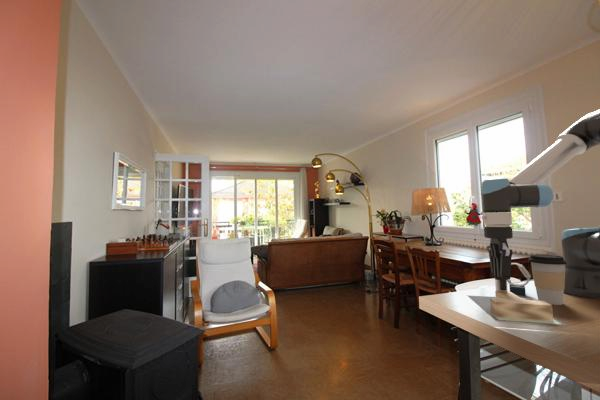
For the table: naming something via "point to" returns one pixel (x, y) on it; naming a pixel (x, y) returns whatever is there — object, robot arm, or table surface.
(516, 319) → the mat
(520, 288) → the watch
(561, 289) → the coffee cup
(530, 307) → the t block
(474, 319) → the table surface
